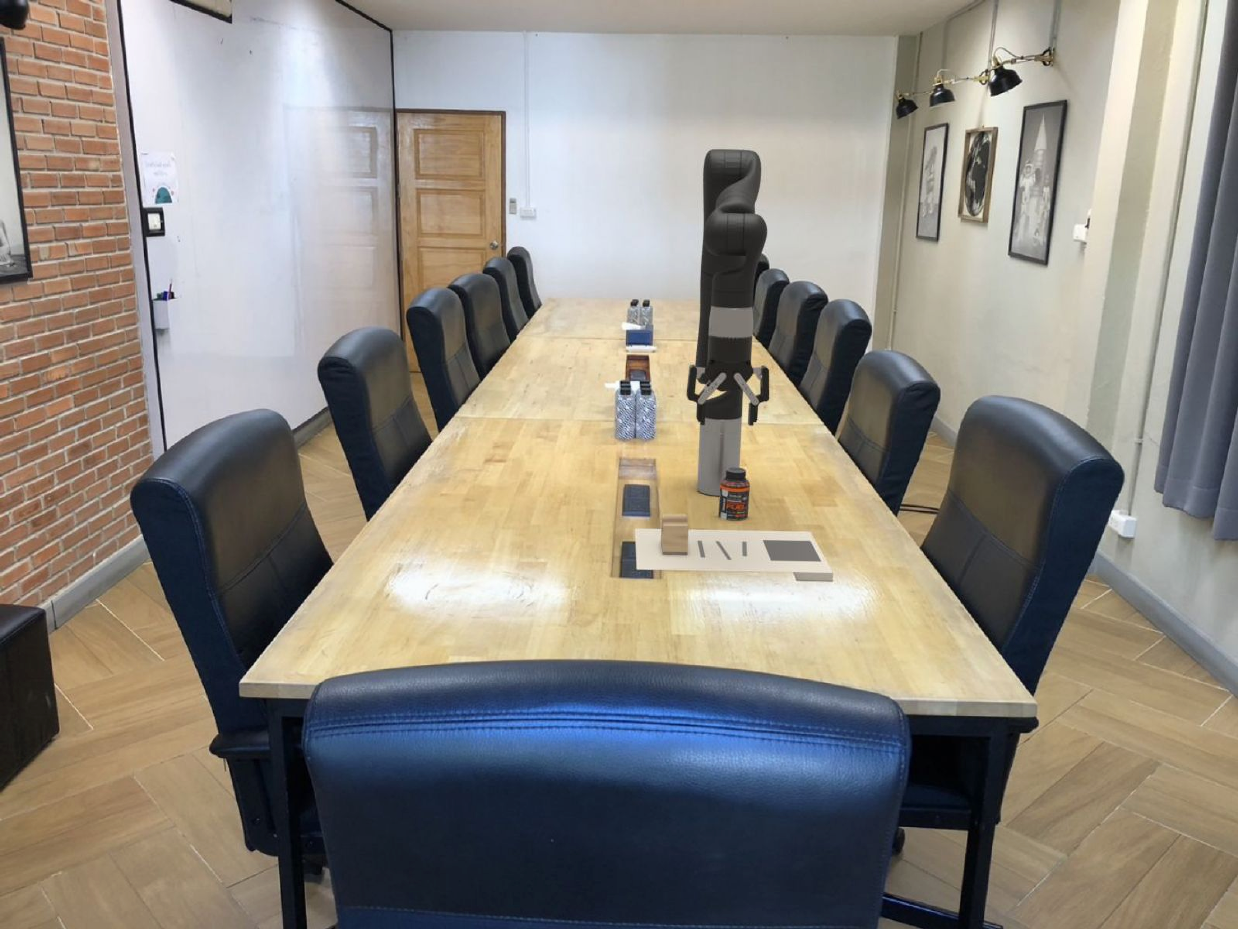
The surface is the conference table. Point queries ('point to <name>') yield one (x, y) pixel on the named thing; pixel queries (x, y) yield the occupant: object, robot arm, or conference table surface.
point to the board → (737, 553)
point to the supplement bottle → (734, 495)
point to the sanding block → (674, 534)
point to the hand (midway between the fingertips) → (726, 424)
